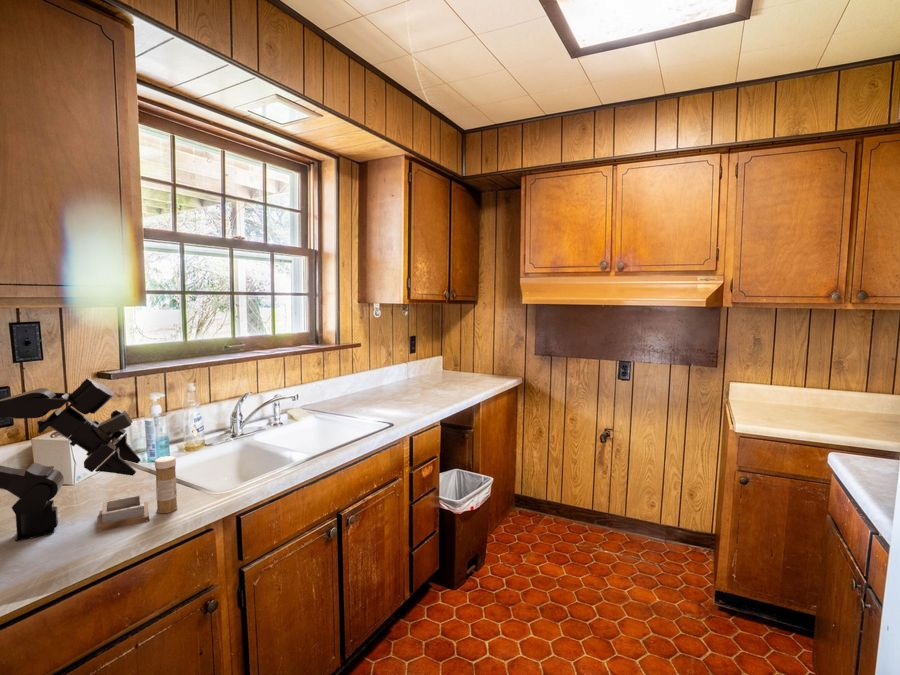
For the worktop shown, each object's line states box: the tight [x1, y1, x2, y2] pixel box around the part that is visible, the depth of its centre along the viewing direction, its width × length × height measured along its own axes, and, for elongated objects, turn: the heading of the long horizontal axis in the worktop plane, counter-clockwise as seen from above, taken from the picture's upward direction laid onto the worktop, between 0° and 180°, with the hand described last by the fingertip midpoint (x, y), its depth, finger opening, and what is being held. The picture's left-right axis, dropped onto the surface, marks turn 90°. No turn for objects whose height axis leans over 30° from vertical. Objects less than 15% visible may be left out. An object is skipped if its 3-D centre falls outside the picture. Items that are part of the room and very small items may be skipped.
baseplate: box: [97, 501, 150, 532], centre depth 116 cm, size 10×10×1 cm
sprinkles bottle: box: [154, 455, 178, 514], centre depth 120 cm, size 5×5×13 cm
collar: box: [102, 493, 145, 524], centre depth 116 cm, size 8×8×2 cm
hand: (137, 467), depth 116 cm, fingers open, 9 cm apart
